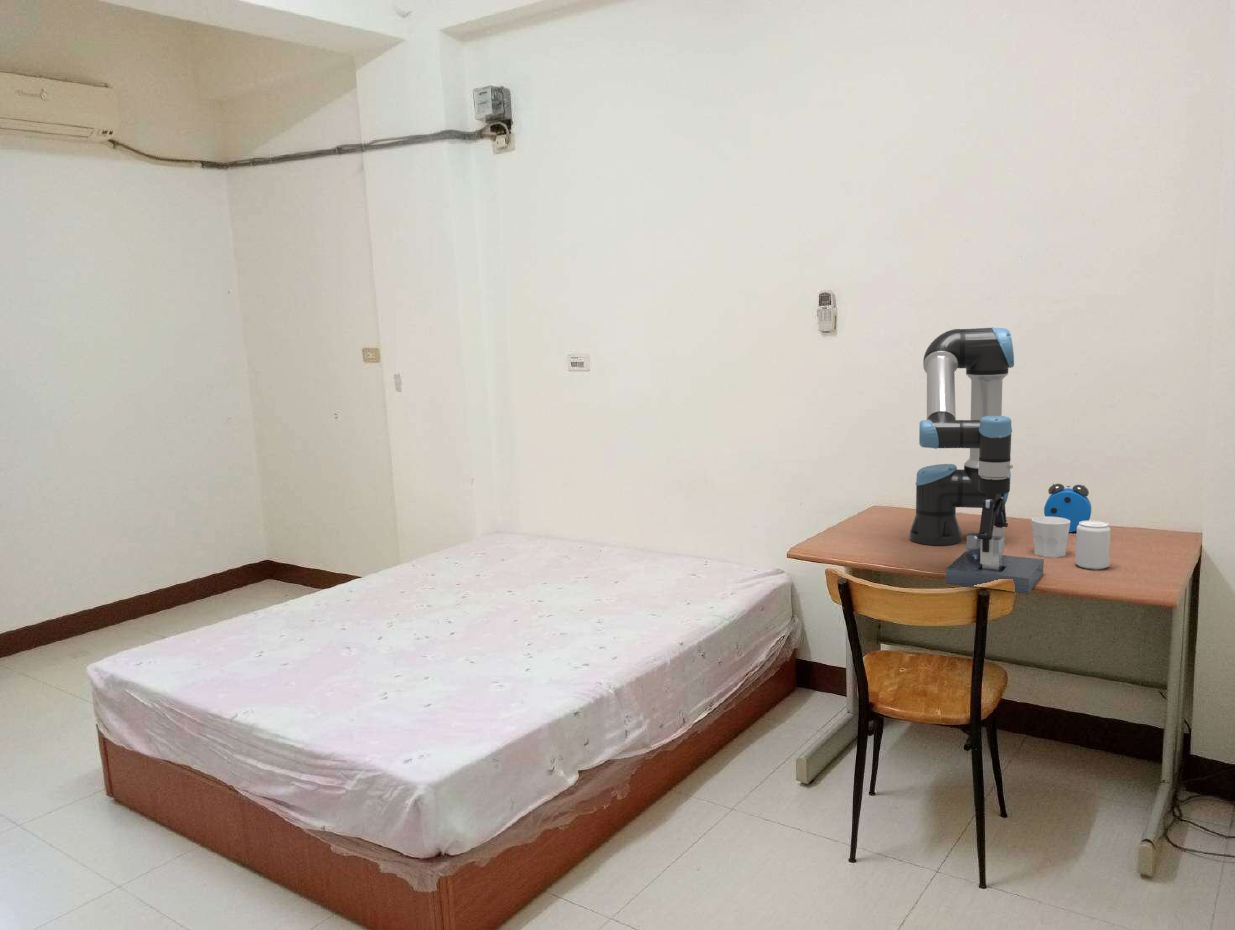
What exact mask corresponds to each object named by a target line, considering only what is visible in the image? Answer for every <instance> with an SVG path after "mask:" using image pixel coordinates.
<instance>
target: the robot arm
mask: <svg viewBox="0 0 1235 930" xmlns="http://www.w3.org/2000/svg"><path fill="white" fill-rule="evenodd" d="M1013 346H1014V345H1013V340H1012V333H1011V332H1010V330H1009V329H1008V328H1004V327H982V328H981V327H980V328H979V327H978V328H977V327H976V328H954V329H950V330H947V331H945V332H943V333H941V334H940V335H939V336H937V337H936V338H934V340H933V341H932V342H930V344H929V345H928V347H927V348H926V351H925V353H924V356H923V361H922V362H923V364H922V365H923V370H924V372H925V374H926V419H925V420H921V421H920V422H919V434H918V435H919V439H918V441H919V443H918V444H919V446H920V447H921V448H927V449H928V448H929V449H969V458H968V459H967V460H966V461H965V462H964V463H963V469H958V467H957V465H956V464H953V463H940V464H939V463H937V464H933V465H926V466H924V467H921V468H919V469H918V471H916V472H917V473H916V481H915V488H916V489H915V490H916V491H915V492H916V494H915V499H916V500H915V515H914V519H913V522H912V525H911V527H910V529H909V540H910V541H911V542H912V543H913V542H914V543H917V544H922V545H929V546H950V545H951V546H952V545H956V544H959V543H960V542H961V541H962V532H961V529H960V525H959V522H958V519H957V516H956V511H957V509H956V508H966V509H967V508H971V509H974V508H975V509H980V508H981V514H980V515H981V516H980V522H979V523H980V524H979V531H978V533H979V535H977V539H981V551H980V564H988V565H992V550H993V539H992V536H998V537H1003V549H1002V553H1004V552H1005V528H1008V526H1009V523H1008V522H1007V521H1008V520H1007V513H1006V504H1007V501H1008V498H1009V493H1010V491H1011V477H1012V475H1011V474H1012V473H1011V470H1012V469H1013V467H1014V465H1013V464H1011V458H1012V457H1011V452H1012V449H1011V448H1012V433H1013V428H1012V419H1011V418H1010V417H1009V416H1004V415H1002V411H1003V410H1002V409H1003V404H1002V403H1003V380H1004V378H1005V377H1007V376H1008V375H1009V368H1010V369H1011V368H1014V366H1015V355H1014V347H1013ZM958 369H965V375H966V376H967V377H968V378H969V379H970V381H971V382H970V385H971V386H970V419H966V420H965V419H956V417H957V416H956V414H957V413H956V385H955V384H956V381H955V379H956V378H955V372H956V371H957V370H958Z"/></svg>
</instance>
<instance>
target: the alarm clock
mask: <svg viewBox="0 0 1235 930" xmlns="http://www.w3.org/2000/svg"><path fill="white" fill-rule="evenodd" d="M1066 487H1067V488H1066ZM1066 487H1065V486H1064V485H1063V484H1061V483H1052V485H1051V486H1050V487H1049V488H1048V491H1047V492H1048V494H1049V496H1048V498H1047V500H1046V502H1045V504H1044V507H1043V508H1044V509H1043V514H1044V515H1043V516H1044V517H1046V516H1048V517H1060V518H1065V519H1068V520H1070V527H1069V533H1072V532H1073V533H1074V532H1077V526H1078V525H1079V522H1081V521H1090V519H1091V515H1092V503H1091V501H1090V500H1089V498H1088V496H1089V494H1090V491H1089V489H1088V488H1087V487H1086V486H1085V485H1082V484H1074V486H1073V487H1072V488H1071V485H1066Z"/></svg>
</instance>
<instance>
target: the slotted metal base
mask: <svg viewBox="0 0 1235 930" xmlns="http://www.w3.org/2000/svg"><path fill="white" fill-rule="evenodd" d="M977 535H979V532H975V533H974V532H973V533H972V532H971V533H967V534H966V550H965V551H964V552H963V553H962V554H961V555H960V556H958V557H957V558H956V559H955V560H954V561H953V562H952V563H951V564H950V565H949V566H948V567H946V568H945V570H946V571H945V584H946V585H953V586H962V587H968V586H974V585H977V584H982V583H987V582H991V581H994V580H998V579H1013V581H1014V584H1015V592H1014V593H1016V594H1025V595H1030V593H1031V592H1032V591H1033V589H1034V587H1035V586H1036V585H1037V584H1038V582H1039V580H1040V579H1041V577H1043V575H1044V567H1045V565H1044V564H1045V563H1044V562H1045V558H1043V559H1042V558H1035V557H1025V556H1015V555H1006V554H1002V572H997V571H988V570H982V564H980V551H981V539H977Z"/></svg>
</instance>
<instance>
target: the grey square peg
mask: <svg viewBox="0 0 1235 930" xmlns="http://www.w3.org/2000/svg"><path fill="white" fill-rule="evenodd" d="M992 539H993V550H992V565H988V564H982V570H988V571H997V572H1002V555H1003V552H1002V549H1003V537H998V536H993V535H992Z"/></svg>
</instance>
